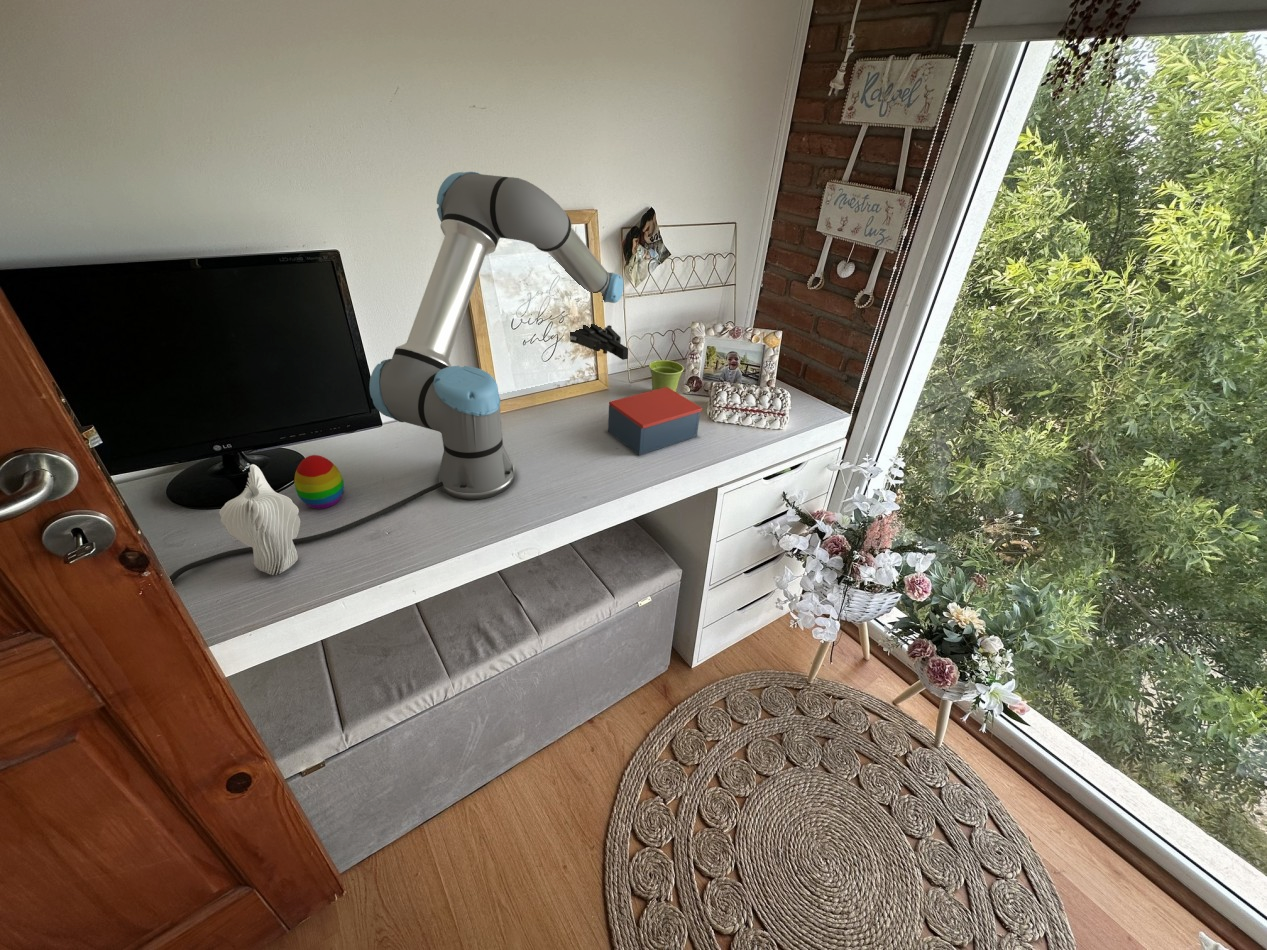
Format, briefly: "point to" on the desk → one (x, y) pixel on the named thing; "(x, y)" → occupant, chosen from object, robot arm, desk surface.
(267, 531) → the shell sculpture
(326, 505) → the decorative egg
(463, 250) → the robot arm
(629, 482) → the desk surface
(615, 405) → the lid
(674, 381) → the plant pot
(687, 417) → the box
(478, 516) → the desk surface
